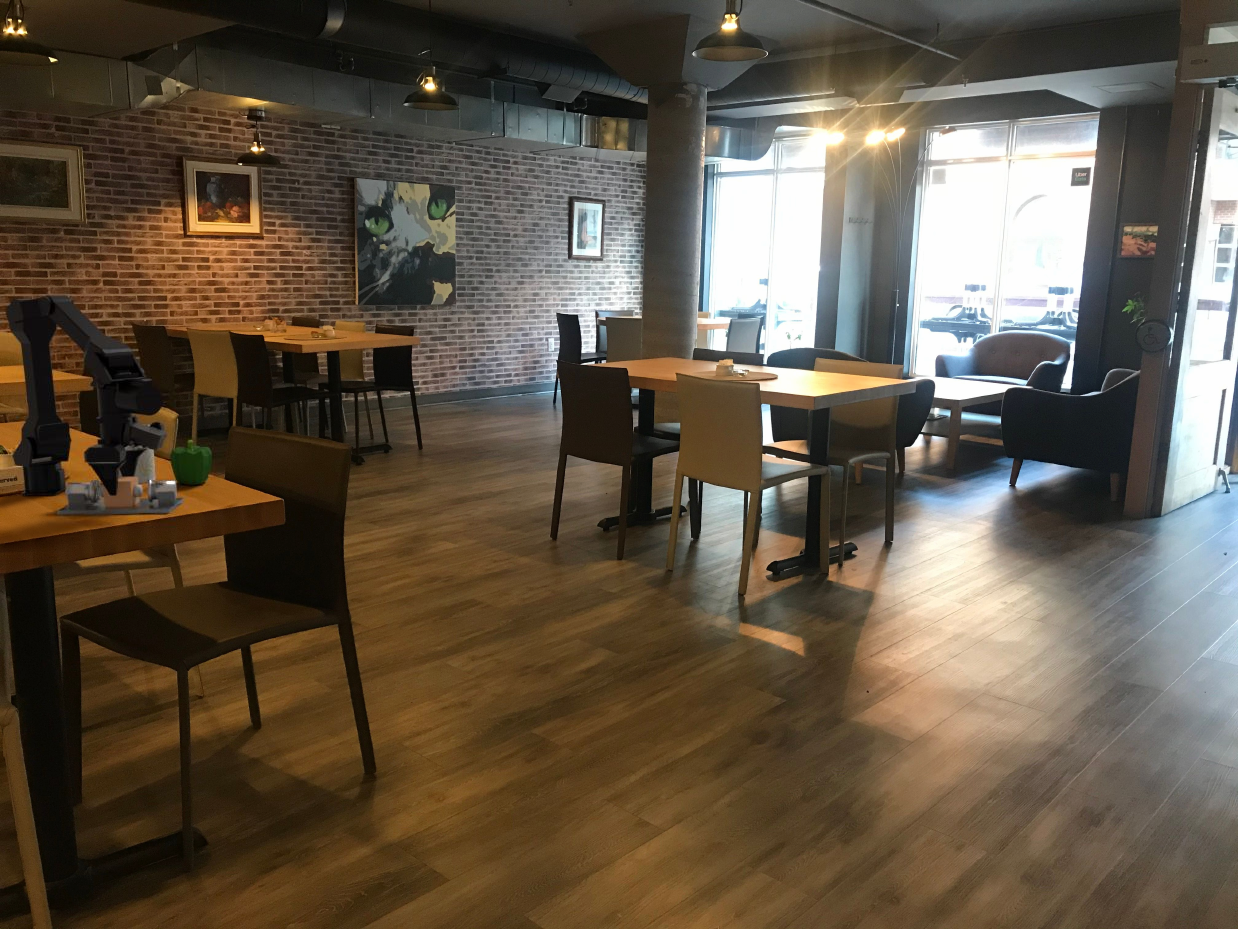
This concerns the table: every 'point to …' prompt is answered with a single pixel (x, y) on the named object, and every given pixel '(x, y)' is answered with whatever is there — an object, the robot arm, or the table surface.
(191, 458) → the bell pepper
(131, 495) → the coupler
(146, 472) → the cup
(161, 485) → the shaft
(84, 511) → the bench
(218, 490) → the table surface
